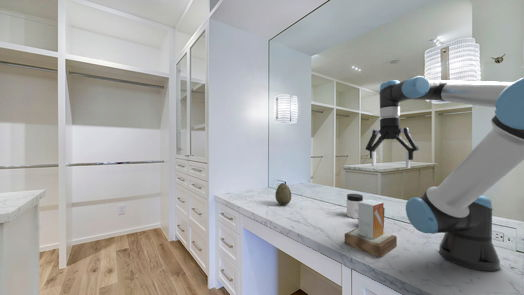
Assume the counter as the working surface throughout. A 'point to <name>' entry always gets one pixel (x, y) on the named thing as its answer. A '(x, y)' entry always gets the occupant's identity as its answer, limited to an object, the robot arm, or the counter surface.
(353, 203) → the jar
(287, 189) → the decorative egg
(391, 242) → the plinth
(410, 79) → the robot arm
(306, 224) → the counter surface
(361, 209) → the small box
